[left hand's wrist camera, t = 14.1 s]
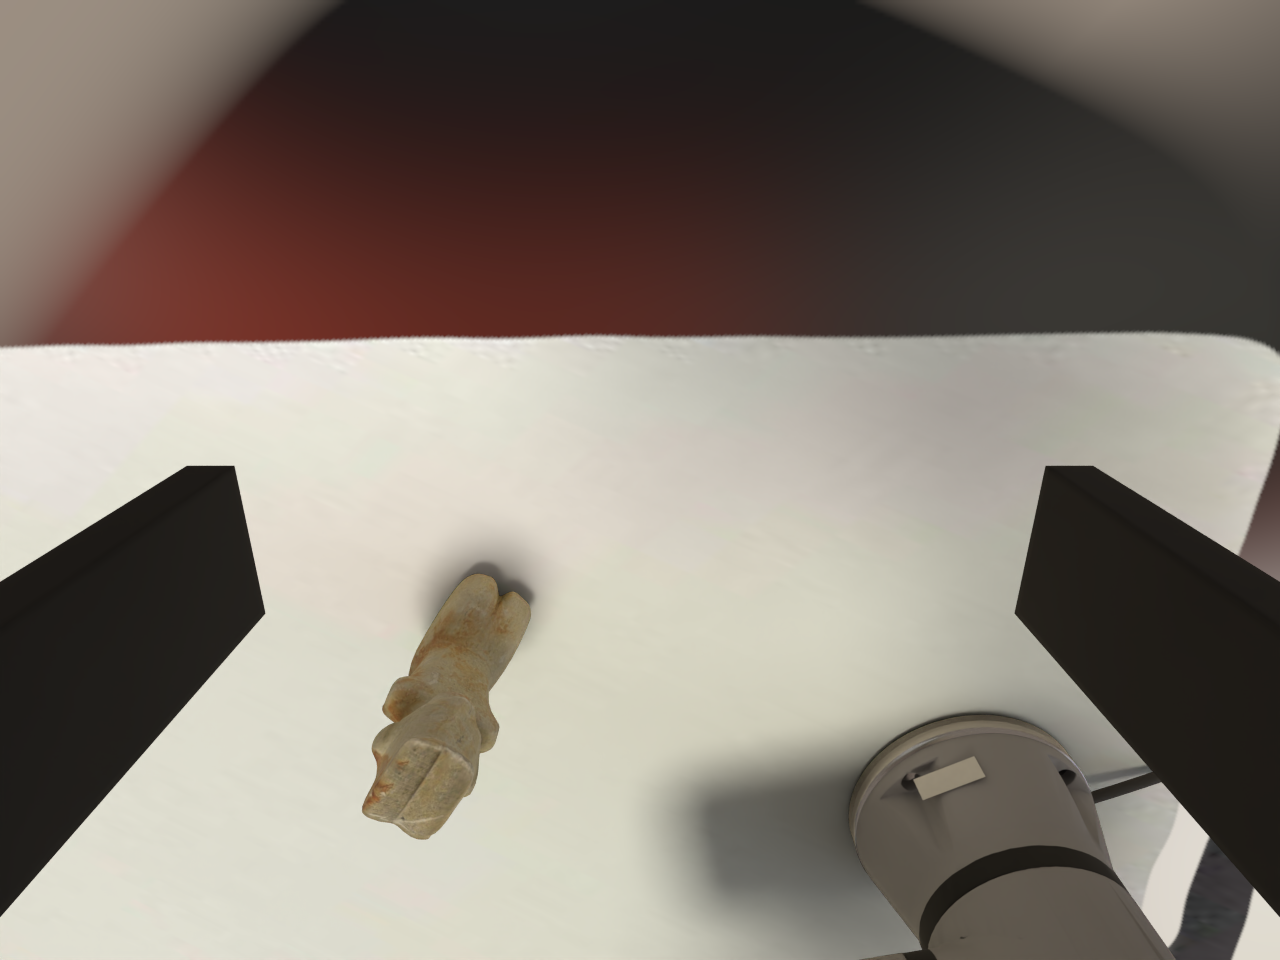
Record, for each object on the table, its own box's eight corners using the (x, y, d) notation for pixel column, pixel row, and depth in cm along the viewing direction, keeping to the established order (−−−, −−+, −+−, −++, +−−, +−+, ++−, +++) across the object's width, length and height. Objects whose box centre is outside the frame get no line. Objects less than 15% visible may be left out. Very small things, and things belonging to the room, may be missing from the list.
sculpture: (552, 605, 45) (512, 795, 31) (484, 683, 47) (418, 895, 33) (470, 550, 44) (390, 723, 30) (404, 634, 46) (300, 832, 32)
